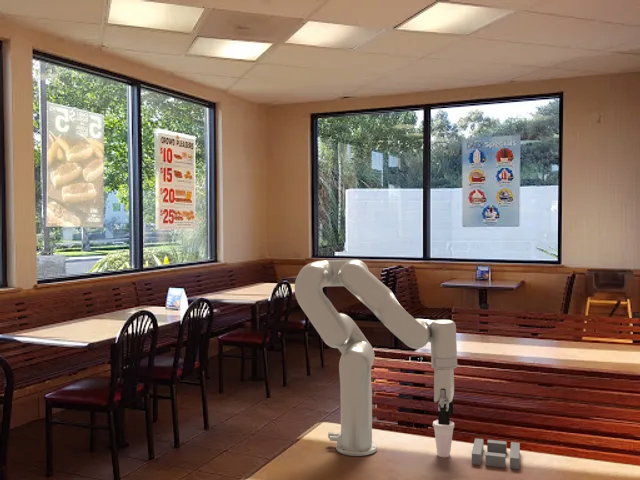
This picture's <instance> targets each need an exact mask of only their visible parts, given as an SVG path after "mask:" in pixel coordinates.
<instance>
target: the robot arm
mask: <svg viewBox="0 0 640 480" xmlns="http://www.w3.org/2000/svg"><path fill="white" fill-rule="evenodd" d="M296 276H297V277H296V278H295V281H294V294H295V295H294V296H295V299H296V300H297V301H296V302H297V303H298V306H300V308H301V309H302V311H303V312H304V315H306V317H307V318H308V320H309V321H310V323H311V325H312V326H313V327H314V329H315V330H316V332H317V334H318V335H319V336H320V338H321V339H322V341H323V342H324V343H325V344H326V345H327V346H328V347H330V348H333V349H338V351H339V353H341V356H340V359H339V362H338V363H339V364H338V372H339V383H340V384H339V385H340V387H339V388H340V431H338V433H337V432H333V431H329V432H328V433H327V434H328V435H327V438H328V439H329V441H330V442H336V444H335V449H336V451H337V452H338V453H339V454H343V455H345V456H349V457H351V456H352V457H363V456H369V455H372V454H374V453H375V452H376V451H378V445H377V443H376V442H375V441H373V397H372V396H373V393H372V392H373V391H372V389H373V387H372V367H373V365H374V362H375V355H376V353H375V351H374V347H373V346H372V344H371V343H370V342H369V341H368V339H367V338H366V336H365V335H364V333H363V332H362V330H361V329H360V328H359V326H358V325H357V323H356V322H355V321H354V320H353V318H351V317H350V316H349V315H347V314H345V313H342V312H339V311H338V310H337V309H336V307H334V305H333V303H332V302H331V301H330V299H329V298H328V297H327V295H325V293H324V291H323V288H325V287H344V288H346V290H348V291H349V292H350V293H351V294H352V295H353V296H354V297H355V298H357V299H358V301H360V302H361V303H362V304H363V305H364V306H366V308H368V309H369V310H370V311H371V312H372V313H373V315H374V316H376V318H377V319H378V320H379V321H380V322H381V323H382V324H383V325H384V326H385V327H386V328H387V330H389V332H391V333H392V334H393V335H394V336H395V337H396V338H397V339H399V340H400V341H401V342H402V343H404V345H405V346H407V347H409V348H411V349H415V350H417V349H423V348H424V347H425V346H426V345H427V344H428V343H430V357H431V358H430V359H431V360H430V362H431V368H432V369H434V373H433V376H434V377H433V378H434V379H433V395H434V397H433V401H434V403H438V406H437V407H438V408H437V409H438V410H437V420H438V423H439V424H441V425H449V424H450V421H451V419H450V417H451V416H452V415H454V401H453V400H454V399H453V398H454V395H455V376H454V374H455V372H454V369H457V367H458V351H457V347H458V346H457V326H456V323H455V322H454V320H452V319H451V320H450V319H424V318H414V316H412V315H411V314H410V313H409V312H408V311H406V309H405V308H404V307H403V306H402V305H401V304H400V303H399V301H398V300H397V297H396V296H395V294H394V293H393V291H392V289H390V288H389V287H388V286H386V285H385V284H384V283H383V282H382V281H381V280H380V279H378V277H377V276H375V275H374V273H372V272H370V271H369V268H368V265H367V264H366V263H365V262H363V260H359V259H342V260H341V259H339V260H338V259H337V260H336V259H334V260H333V259H331V260H326V259H325V260H317V261H313V262H309V263H307V264H305V265H304V266H303V267H302V268H301V269H300V271H299V272H298V275H296ZM450 415H451V416H450Z"/></svg>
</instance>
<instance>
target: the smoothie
mask: <svg viewBox="0 0 640 480" xmlns="http://www.w3.org/2000/svg"><path fill="white" fill-rule="evenodd" d="M432 427H433V430H434V436H435V437H434V439H435V446H436V454H437V457H441V458H448V457H450V456H451V451H452V450H451V449H452V443H453V442H452V441H453V433H454V428H455V422H454V421H451V420H450V424H449V425H441V424H439V423H438V419H436V420H433V422H432Z"/></svg>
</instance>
